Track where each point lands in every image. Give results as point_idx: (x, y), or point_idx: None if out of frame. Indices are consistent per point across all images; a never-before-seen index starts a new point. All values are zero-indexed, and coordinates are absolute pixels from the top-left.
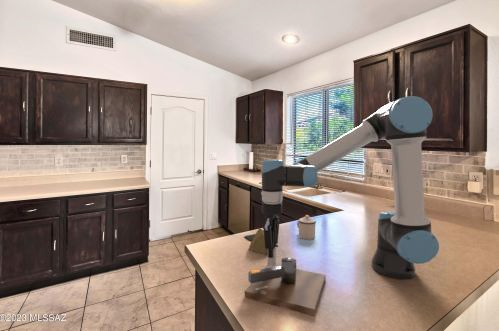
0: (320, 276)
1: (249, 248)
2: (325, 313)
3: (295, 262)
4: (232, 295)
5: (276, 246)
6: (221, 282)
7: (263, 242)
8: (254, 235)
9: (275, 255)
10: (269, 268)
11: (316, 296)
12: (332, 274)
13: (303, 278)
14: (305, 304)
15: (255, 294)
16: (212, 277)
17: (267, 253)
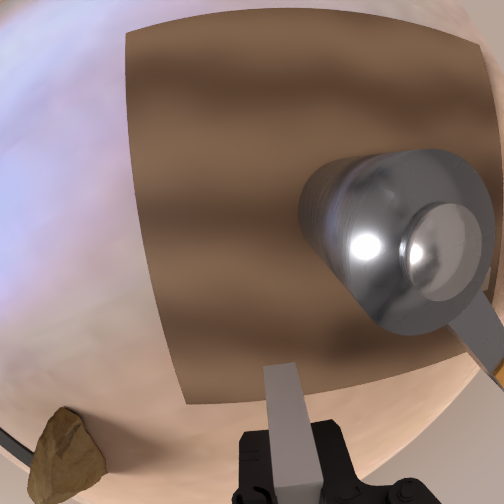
0: (160, 45)
1: (104, 473)
2: (427, 13)
3: (450, 152)
4: (462, 369)
5: (275, 497)
6: (398, 438)
7: (63, 465)
8: (28, 463)
9: (278, 423)
10: (476, 342)
11: (405, 28)
12: (61, 53)
13: (252, 127)
14: (478, 77)
15: (490, 301)
16: (375, 466)
17: (79, 422)
